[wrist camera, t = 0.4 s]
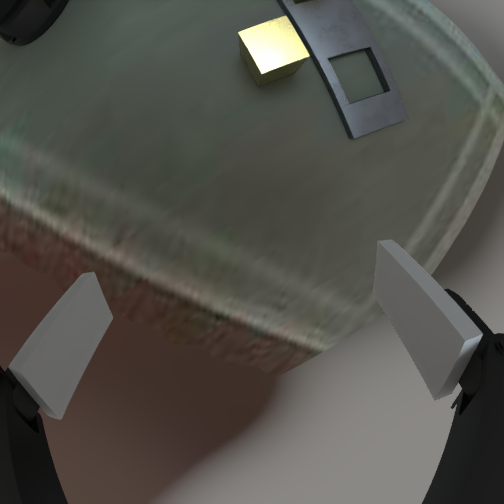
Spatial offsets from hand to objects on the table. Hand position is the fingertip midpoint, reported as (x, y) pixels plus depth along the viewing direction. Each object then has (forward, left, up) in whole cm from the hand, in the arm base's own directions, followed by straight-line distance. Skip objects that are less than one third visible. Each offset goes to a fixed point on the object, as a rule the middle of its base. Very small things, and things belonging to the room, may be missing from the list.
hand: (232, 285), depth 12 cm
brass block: (-12, +10, -25) cm, 30 cm away
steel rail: (-14, +20, -25) cm, 35 cm away
